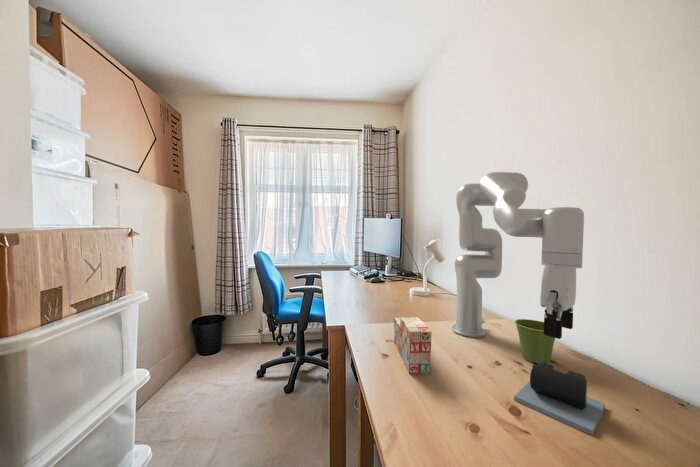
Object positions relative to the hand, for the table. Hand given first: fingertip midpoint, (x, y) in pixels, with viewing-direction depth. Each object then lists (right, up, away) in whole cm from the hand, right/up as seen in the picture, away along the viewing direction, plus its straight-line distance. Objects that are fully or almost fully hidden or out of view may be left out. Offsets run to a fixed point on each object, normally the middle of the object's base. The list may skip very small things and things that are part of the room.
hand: (558, 331), depth 63 cm
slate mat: (0, -17, -1) cm, 17 cm away
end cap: (0, -16, 0) cm, 16 cm away
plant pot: (+10, -17, +22) cm, 30 cm away
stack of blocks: (-30, -17, +22) cm, 41 cm away
